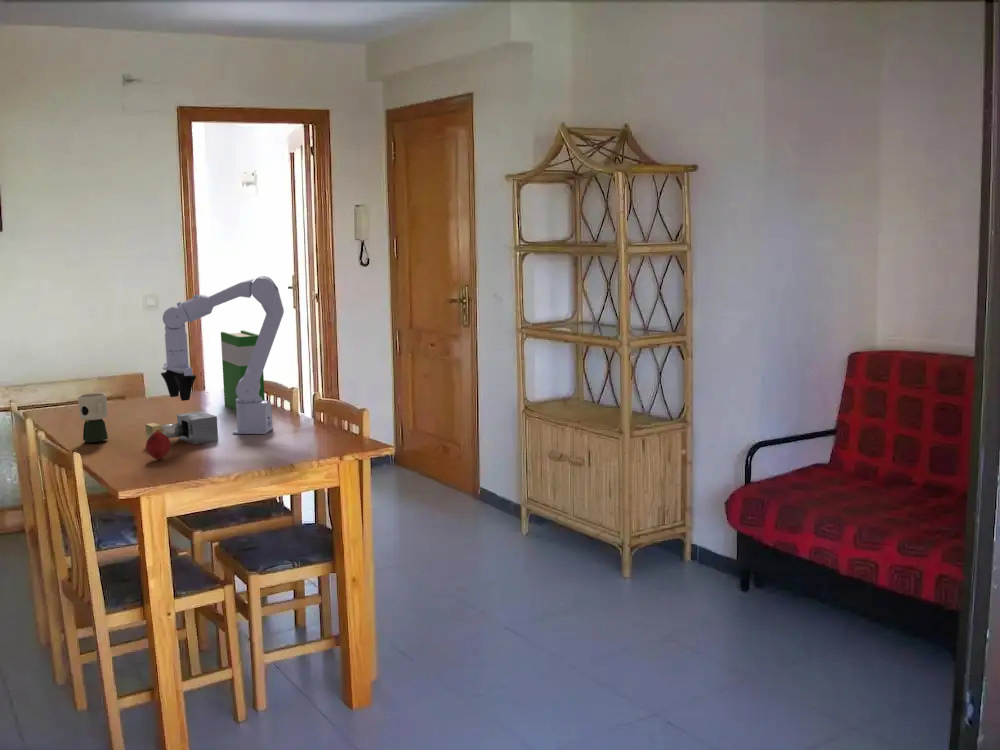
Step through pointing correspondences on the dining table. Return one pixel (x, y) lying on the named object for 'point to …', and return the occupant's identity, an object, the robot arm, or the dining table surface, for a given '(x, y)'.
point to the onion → (158, 445)
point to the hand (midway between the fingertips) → (179, 398)
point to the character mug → (93, 416)
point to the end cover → (165, 430)
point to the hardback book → (237, 363)
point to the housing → (198, 427)
